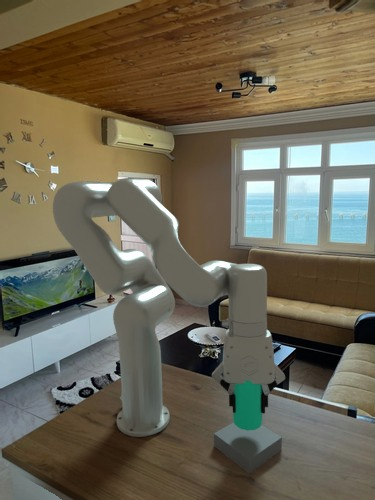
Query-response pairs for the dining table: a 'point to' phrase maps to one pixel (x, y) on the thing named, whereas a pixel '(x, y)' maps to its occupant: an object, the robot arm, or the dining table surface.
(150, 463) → the dining table surface
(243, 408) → the candle
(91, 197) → the robot arm
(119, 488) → the dining table surface
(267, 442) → the plinth
